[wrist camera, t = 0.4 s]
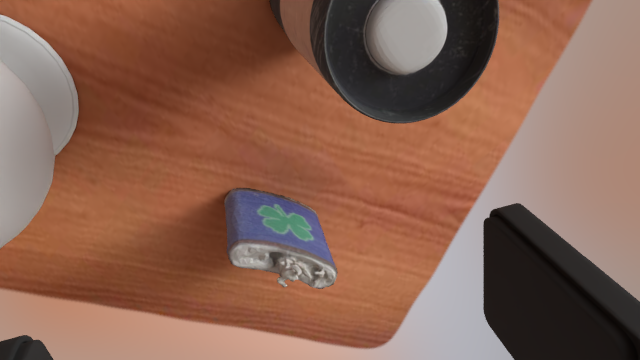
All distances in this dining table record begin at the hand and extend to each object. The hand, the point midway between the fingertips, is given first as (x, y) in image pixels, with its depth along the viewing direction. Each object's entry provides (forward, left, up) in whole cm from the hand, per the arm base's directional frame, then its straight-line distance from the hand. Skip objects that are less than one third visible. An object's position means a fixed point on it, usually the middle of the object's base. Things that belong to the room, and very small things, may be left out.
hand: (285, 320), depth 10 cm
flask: (+11, +10, -31) cm, 34 cm away
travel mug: (-7, +4, -31) cm, 31 cm away
